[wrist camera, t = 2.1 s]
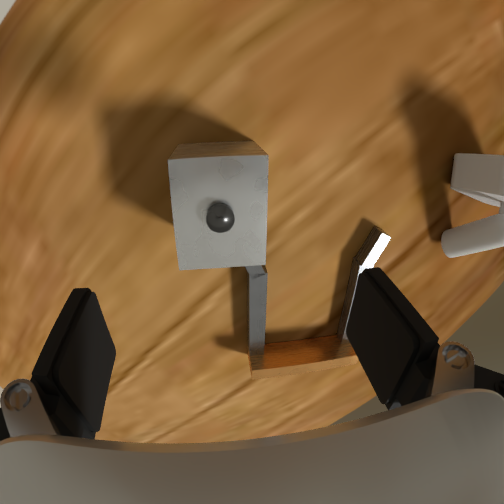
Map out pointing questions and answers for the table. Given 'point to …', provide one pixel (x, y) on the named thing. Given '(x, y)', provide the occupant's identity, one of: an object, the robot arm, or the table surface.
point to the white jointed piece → (485, 190)
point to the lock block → (219, 204)
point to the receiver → (307, 350)
